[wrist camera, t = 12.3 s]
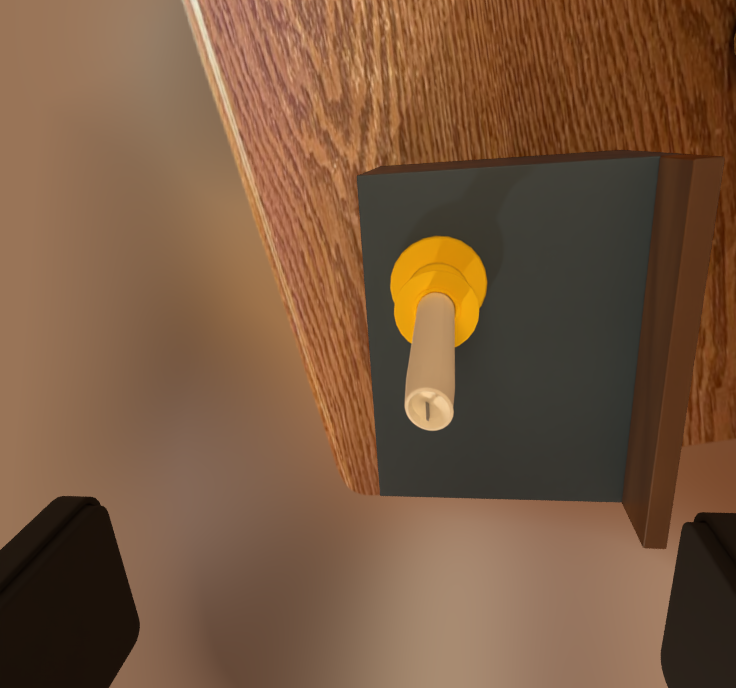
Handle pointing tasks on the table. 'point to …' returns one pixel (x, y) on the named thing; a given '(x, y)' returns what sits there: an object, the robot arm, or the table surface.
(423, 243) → the candle
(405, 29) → the table surface
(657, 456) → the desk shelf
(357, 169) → the table surface
